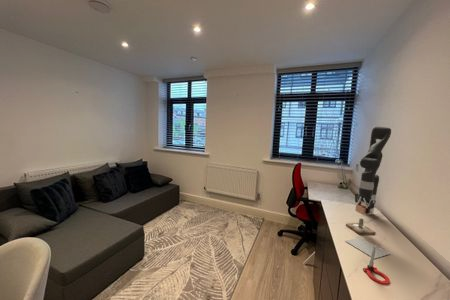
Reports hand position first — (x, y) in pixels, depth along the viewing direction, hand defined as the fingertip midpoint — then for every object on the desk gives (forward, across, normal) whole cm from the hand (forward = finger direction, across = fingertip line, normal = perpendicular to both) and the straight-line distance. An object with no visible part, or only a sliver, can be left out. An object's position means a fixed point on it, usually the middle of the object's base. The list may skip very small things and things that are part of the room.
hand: (362, 211), depth 133 cm
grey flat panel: (+14, -22, +8) cm, 27 cm away
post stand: (+13, 0, 0) cm, 13 cm away
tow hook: (+14, -40, +29) cm, 51 cm away
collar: (+1, 0, 0) cm, 1 cm away
